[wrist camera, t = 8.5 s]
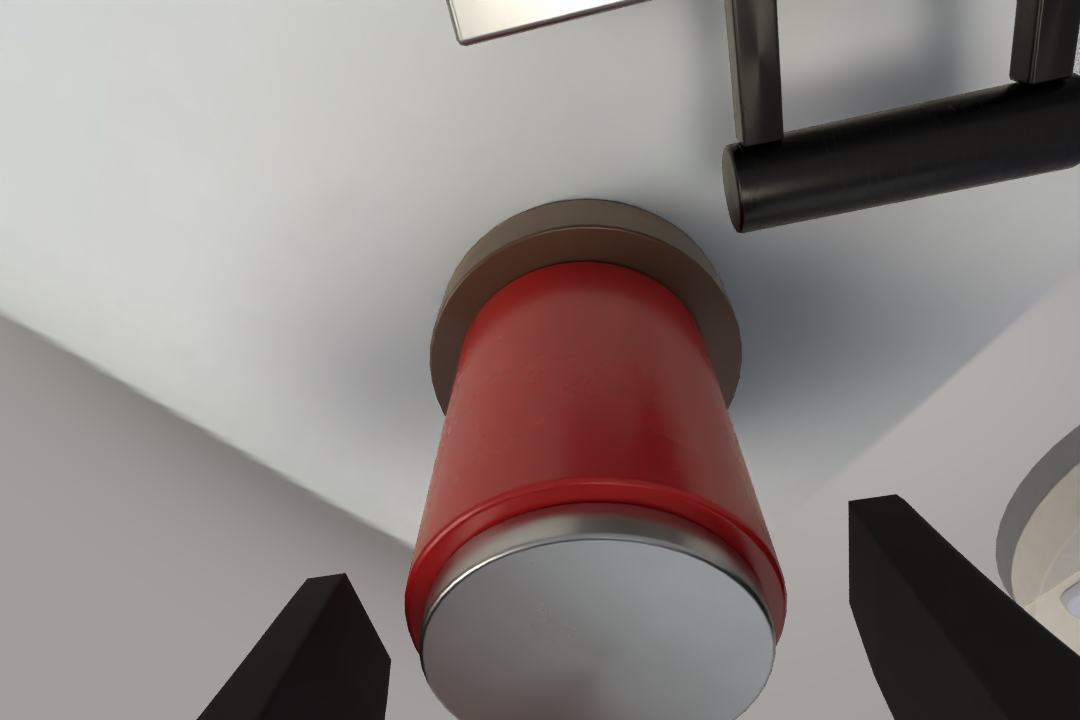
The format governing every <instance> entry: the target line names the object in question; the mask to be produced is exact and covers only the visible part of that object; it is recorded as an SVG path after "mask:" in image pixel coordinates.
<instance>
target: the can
mask: <svg viewBox="0 0 1080 720" xmlns="http://www.w3.org/2000/svg"><path fill="white" fill-rule="evenodd" d="M786 608H787V593H786V587H785V581H784V577H783V574H782V571H781V568H780V565H779V562H778V559H777V556H776V553H775V550H774V547H773V544H772V541H771V538H770V535H769V532H768V529H767V526H766V523H765V520H764V517H763V514H762V511H761V509H760V506H759V503H758V500H757V497H756V494H755V491H754V488H753V485H752V482H751V479H750V476H749V473H748V470H747V467H746V464H745V461H744V458H743V455H742V452H741V449H740V446H739V443H738V440H737V437H736V434H735V431H734V428H733V425H732V422H731V420H730V417H729V414H728V411H727V408H726V405H725V402H724V399H723V396H722V393H721V390H720V387H719V384H718V381H717V378H716V375H715V372H714V369H713V366H712V363H711V360H710V357H709V354H708V351H707V348H706V345H705V342H704V339H703V337H702V334H701V332H700V329H699V326H698V325H697V323H696V321H695V319H694V318H693V316H692V314H691V313H690V311H689V310H688V309H687V308H686V306H685V305H684V304H683V302H682V301H681V300H680V299H679V298H678V297H676V296H675V295H674V294H673V293H672V292H671V291H670V290H669V289H667V288H666V287H664V286H663V285H662V284H660V283H659V282H657V281H656V280H654V279H652V278H650V277H648V276H646V275H644V274H642V273H639V272H637V271H634V270H631V269H629V268H626V267H621V266H617V265H613V264H608V263H598V262H571V263H563V264H556V265H553V266H549V267H545V268H541V269H538V270H536V271H533V272H531V273H528V274H526V275H523V276H522V277H520V278H518V279H516V280H514V281H513V282H511V283H509V284H508V285H506V286H505V287H504V288H502V289H501V290H500V291H498V292H497V293H496V294H495V295H494V296H493V297H492V298H491V299H490V300H489V301H488V302H486V303H485V305H484V306H483V307H482V308H481V310H480V311H479V312H478V314H477V315H476V316H475V318H474V320H473V322H472V323H471V325H470V327H469V329H468V331H467V334H466V336H465V339H464V342H463V345H462V350H461V354H460V358H459V363H458V367H457V371H456V375H455V380H454V384H453V388H452V392H451V397H450V401H449V405H448V410H447V414H446V418H445V422H444V427H443V431H442V435H441V440H440V444H439V448H438V452H437V457H436V461H435V465H434V470H433V474H432V478H431V482H430V487H429V491H428V495H427V500H426V504H425V508H424V512H423V517H422V521H421V525H420V530H419V534H418V538H417V542H416V547H415V551H414V555H413V560H412V564H411V568H410V572H409V577H408V581H407V586H406V591H405V615H406V621H407V626H408V630H409V633H410V636H411V638H412V641H413V643H414V646H415V648H416V650H417V651H418V653H419V655H420V661H421V666H422V670H423V672H424V675H425V677H426V680H427V682H428V684H429V686H430V688H431V689H432V691H433V693H434V694H435V696H436V697H437V699H438V700H439V701H440V702H441V703H442V704H443V705H444V707H445V708H446V709H447V710H448V711H449V712H450V713H451V714H453V715H454V716H455V717H456V718H457V719H458V720H735V719H737V718H738V717H739V716H740V715H741V714H742V713H743V712H745V711H746V710H747V709H748V708H749V706H750V705H751V704H752V703H753V702H754V701H755V700H756V699H757V697H758V696H759V694H760V693H761V691H762V690H763V688H764V687H765V685H766V683H767V681H768V678H769V676H770V674H771V671H772V667H773V662H774V658H775V652H776V645H777V643H778V641H779V639H780V636H781V634H782V630H783V626H784V621H785V617H786V611H787V609H786Z"/></svg>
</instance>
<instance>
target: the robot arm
mask: <svg viewBox="0 0 1080 720" xmlns="http://www.w3.org/2000/svg"><path fill="white" fill-rule="evenodd" d="M849 603H850V606H851V609H852V612H853V615H854V618H855V621H856V624H857V627H858V630H859V633H860V636H861V639H862V642H863V644H864V648H865V650H866V653H867V656H868V659H869V662H870V665H871V667H872V670H873V673H874V676H875V678H876V680H877V683H878V685H879V687H880V689H881V691H882V694H883V696H884V698H885V700H886V702H887V704H888V707H889V709H890V711H891V712H892V715H893V717H894V719H895V720H1080V656H1079V655H1078V654H1077V653H1076V652H1074V651H1073V650H1072V649H1071V648H1069V647H1068V646H1067V645H1066V644H1065V643H1063V642H1062V641H1061V640H1060V639H1058V638H1057V637H1056V636H1055V635H1053V634H1052V633H1051V632H1050V631H1049V630H1048V629H1046V628H1045V627H1044V626H1043V625H1042V624H1040V623H1039V622H1038V621H1037V620H1036V619H1035V618H1033V617H1032V616H1031V615H1030V614H1029V613H1028V612H1026V611H1025V610H1024V609H1023V608H1022V607H1020V606H1019V605H1018V604H1017V603H1016V602H1015V601H1013V600H1012V599H1011V598H1010V597H1009V596H1007V595H1006V594H1005V593H1004V592H1003V591H1002V590H1001V589H999V588H998V587H997V586H996V585H995V584H994V583H993V582H992V581H990V580H989V579H988V578H987V577H986V576H985V575H984V574H982V573H981V572H980V571H979V570H978V569H977V568H976V567H975V566H974V565H972V564H971V563H970V562H969V561H968V560H967V559H966V558H965V557H964V556H963V555H962V554H961V553H960V552H958V551H957V550H956V549H955V548H954V547H953V546H952V545H951V544H950V543H949V542H947V541H946V540H945V539H944V538H943V537H942V536H941V535H940V534H939V533H938V532H937V531H936V530H935V529H934V528H933V527H932V526H931V525H930V524H929V523H928V522H927V521H926V520H925V519H923V517H921V516H920V515H919V514H918V513H917V512H916V511H915V510H914V509H913V508H912V507H911V506H910V505H909V504H908V503H907V502H906V501H905V500H904V499H902V498H901V497H899V496H898V495H896V494H895V495H888V496H881V497H874V498H867V499H860V500H853V501H849ZM1061 603H1062V604H1063V606H1064V607H1065V608H1066V610H1067V611H1068V612H1069V613H1070V614H1072V615H1073V616H1075V617H1077V618H1079V619H1080V581H1079V582H1078V583H1076V584H1075V585H1073V586H1072V587H1070V588H1069V589H1067V590H1066V591H1065V592H1064V593H1063V595H1062V597H1061ZM390 665H391V659H390V657H389V655H388V653H387V651H386V649H385V647H384V645H383V644H382V642H381V640H380V638H379V636H378V634H377V632H376V630H375V628H374V626H373V625H372V623H371V621H370V619H369V617H368V615H367V613H366V611H365V609H364V607H363V605H362V604H361V602H360V600H359V598H358V596H357V594H356V592H355V590H354V588H353V586H352V585H351V583H350V581H349V579H348V577H347V575H346V574H345V573H343V574H336V575H329V576H323V577H315V578H308V579H307V580H306V581H305V582H304V584H303V585H302V586H301V587H300V588H299V590H298V591H297V592H296V593H295V595H294V596H293V597H292V599H291V600H290V601H289V602H288V604H287V605H286V606H285V607H284V609H283V610H282V612H281V613H280V614H279V615H278V617H277V618H276V619H275V620H274V622H273V623H272V624H271V626H270V627H269V628H268V630H267V631H266V632H265V634H264V635H263V636H262V637H261V639H260V640H259V641H258V642H257V644H256V645H255V646H254V648H253V649H252V651H251V652H250V653H249V654H248V655H247V657H246V658H245V659H244V661H243V662H242V663H241V664H240V666H239V667H238V668H237V670H236V671H235V672H234V673H233V675H232V676H231V677H230V679H229V680H228V681H227V682H226V683H225V685H224V686H223V687H222V688H221V690H220V691H219V692H218V694H217V695H216V696H215V697H214V699H213V700H212V701H211V702H210V704H209V705H208V706H207V708H206V709H205V710H204V711H203V712H202V714H201V715H200V716H199V717H198V719H197V720H385V712H386V704H387V695H388V686H389V676H390Z"/></svg>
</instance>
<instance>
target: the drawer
mask: <svg viewBox="0 0 1080 720" xmlns="http://www.w3.org/2000/svg"><path fill="white" fill-rule="evenodd" d="M446 1H447V5H448V9H449V13H450V16H451V20H452V24H453V28H454V31H455V35H456V39H457V41H458V43H459V44H460V45H462V46H469V45H473V44H477V43H481V42H485V41H489V40H493V39H497V38H501V37H505V36H509V35H513V34H517V33H521V32H525V31H529V30H533V29H537V28H541V27H545V26H549V25H553V24H557V23H561V22H566V21H570V20H574V19H578V18H582V17H586V16H590V15H594V14H598V13H602V12H606V11H610V10H614V9H618V8H622V7H626V6H630V5H634V4H638V3H642V2H646V1H650V0H446ZM724 2H725V13H726V25H727V36H728V48H729V60H730V71H731V83H732V95H733V106H734V118H735V129H736V137H737V139H738V140H739V142H738V143H734V144H729V145H727V146H725V148H724V150H723V156H722V172H723V183H724V190H725V196H726V202H727V207H728V211H729V215H730V218H731V221H732V224H733V226H734V228H735V230H736V231H737V232H738V233H746V232H751V231H756V230H761V229H766V228H771V227H776V226H781V225H787V224H792V223H797V222H802V221H807V220H812V219H817V218H822V217H827V216H832V215H837V214H842V213H847V212H852V211H857V210H862V209H867V208H872V207H877V206H882V205H887V204H892V203H897V202H902V201H907V200H912V199H917V198H922V197H927V196H932V195H937V194H942V193H947V192H952V191H957V190H962V189H968V188H973V187H978V186H983V185H988V184H993V183H998V182H1003V181H1008V180H1013V179H1018V178H1023V177H1028V176H1033V175H1038V174H1043V173H1048V172H1053V171H1058V170H1063V169H1068V168H1072V167H1074V166H1076V165H1078V164H1079V163H1080V75H1078V74H1076V73H1073V67H1074V60H1075V53H1076V46H1077V40H1078V33H1079V26H1080V0H1017V6H1016V16H1015V25H1014V35H1013V45H1012V54H1011V64H1010V74H1009V76H1010V79H1011V80H1014V81H1016V82H1015V83H1011V84H1006V85H1002V86H997V87H992V88H988V89H983V90H979V91H974V92H969V93H965V94H960V95H955V96H951V97H946V98H942V99H937V100H932V101H928V102H923V103H918V104H914V105H909V106H905V107H900V108H895V109H891V110H886V111H881V112H877V113H872V114H868V115H863V116H858V117H854V118H849V119H844V120H840V121H835V122H831V123H826V124H821V125H817V126H812V127H808V128H803V129H798V130H794V131H789V132H784V133H783V113H782V94H781V75H780V56H779V37H778V17H777V0H724Z"/></svg>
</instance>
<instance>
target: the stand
mask: <svg viewBox="0 0 1080 720" xmlns="http://www.w3.org/2000/svg"><path fill="white" fill-rule="evenodd" d="M571 262H598V263H608V264H613V265H617V266H621V267H626V268H629V269H631V270H634V271H637V272H639V273H642V274H644V275H646V276H648V277H650V278H652V279H654V280H656V281H657V282H659V283H660V284H662V285H663V286H664V287H666V288H667V289H669V290H670V291H671V292H672V293H673V294H674V295H675V296H676V297H678V298H679V299H680V300H681V301H682V302H683V304H684V305H685V306H686V308H687V309H688V310H689V311H690V313H691V314H692V316H693V318H694V319H695V321H696V323H697V325H698V326H699V329H700V332H701V334H702V337H703V339H704V342H705V345H706V348H707V351H708V354H709V357H710V360H711V363H712V366H713V369H714V372H715V375H716V378H717V381H718V384H719V387H720V390H721V393H722V396H723V399H724V402H725V405H726V408H727V410H728V408H729V406H730V403H731V401H732V399H733V397H734V395H735V391H736V388H737V384H738V381H739V377H740V370H741V363H742V346H741V338H740V332H739V327H738V323H737V320H736V317H735V315H734V312H733V309H732V306H731V304H730V302H729V300H728V297H727V295H726V293H725V290H724V288H723V286H722V284H721V281H720V279H719V277H718V275H717V273H716V272H715V270H714V268H713V266H712V264H711V263H710V261H709V260H708V259H707V257H706V256H705V254H704V253H703V252H702V250H701V249H700V248H699V247H698V246H697V245H696V244H695V243H694V242H693V241H692V240H691V239H690V238H689V237H688V236H687V235H686V234H684V233H683V232H682V231H680V230H679V229H678V228H676V227H675V226H674V225H672V224H671V223H669V222H667V221H665V220H663V219H662V218H660V217H658V216H656V215H654V214H652V213H649V212H647V211H644V210H642V209H639V208H636V207H633V206H629V205H625V204H621V203H616V202H610V201H600V200H571V201H564V202H557V203H551V204H548V205H544V206H540V207H537V208H533V209H530V210H528V211H526V212H523V213H521V214H519V215H516V216H514V217H512V218H510V219H509V220H507V221H505V222H503V223H502V224H500V225H498V226H497V227H495V228H494V229H493V230H491V231H490V232H489V233H488V234H486V235H485V236H484V237H482V238H481V239H480V240H479V241H478V242H477V243H476V244H475V245H474V246H473V247H472V248H471V249H470V250H469V252H468V253H467V254H466V255H465V257H464V258H463V259H462V261H461V262H460V264H459V265H458V266H457V268H456V270H455V272H454V274H453V275H452V277H451V279H450V281H449V283H448V286H447V289H446V292H445V295H444V298H443V301H442V304H441V307H440V310H439V313H438V316H437V320H436V323H435V326H434V329H433V335H432V340H431V346H430V370H431V377H432V383H433V387H434V390H435V394H436V397H437V399H438V402H439V404H440V406H441V408H442V411H443V413H444V415H445V416H446V414H447V410H448V405H449V401H450V397H451V392H452V388H453V384H454V380H455V375H456V371H457V367H458V363H459V358H460V354H461V350H462V345H463V342H464V339H465V336H466V334H467V331H468V329H469V327H470V325H471V323H472V322H473V320H474V318H475V316H476V315H477V314H478V312H479V311H480V310H481V308H482V307H483V306H484V305H485V303H486V302H488V301H489V300H490V299H491V298H492V297H493V296H494V295H495V294H496V293H497V292H498V291H500V290H501V289H502V288H504V287H505V286H506V285H508V284H509V283H511V282H513V281H514V280H516V279H518V278H520V277H522V276H523V275H526V274H528V273H531V272H533V271H536V270H538V269H541V268H545V267H549V266H553V265H556V264H563V263H571Z"/></svg>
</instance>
